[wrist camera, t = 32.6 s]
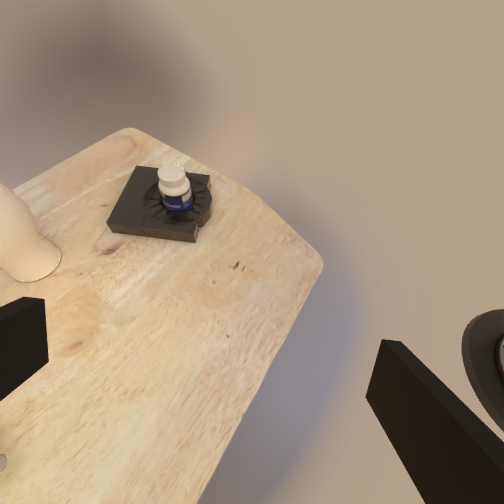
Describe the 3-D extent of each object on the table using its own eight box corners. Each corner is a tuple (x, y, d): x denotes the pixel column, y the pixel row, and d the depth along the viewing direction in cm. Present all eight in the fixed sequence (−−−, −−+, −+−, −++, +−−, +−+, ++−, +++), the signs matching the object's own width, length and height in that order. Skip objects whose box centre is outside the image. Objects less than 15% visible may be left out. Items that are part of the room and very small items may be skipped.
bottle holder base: (217, 186, 55) (217, 176, 53) (204, 244, 47) (202, 235, 44) (140, 176, 55) (136, 165, 52) (112, 232, 46) (106, 222, 44)
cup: (75, 274, 41) (8, 218, 29) (0, 301, 38) (-114, 251, 25) (65, 229, 46) (4, 163, 33) (-2, 249, 43) (-99, 184, 30)
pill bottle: (160, 213, 50) (147, 175, 42) (176, 195, 53) (166, 156, 44) (184, 223, 49) (176, 187, 41) (199, 205, 52) (193, 167, 44)
